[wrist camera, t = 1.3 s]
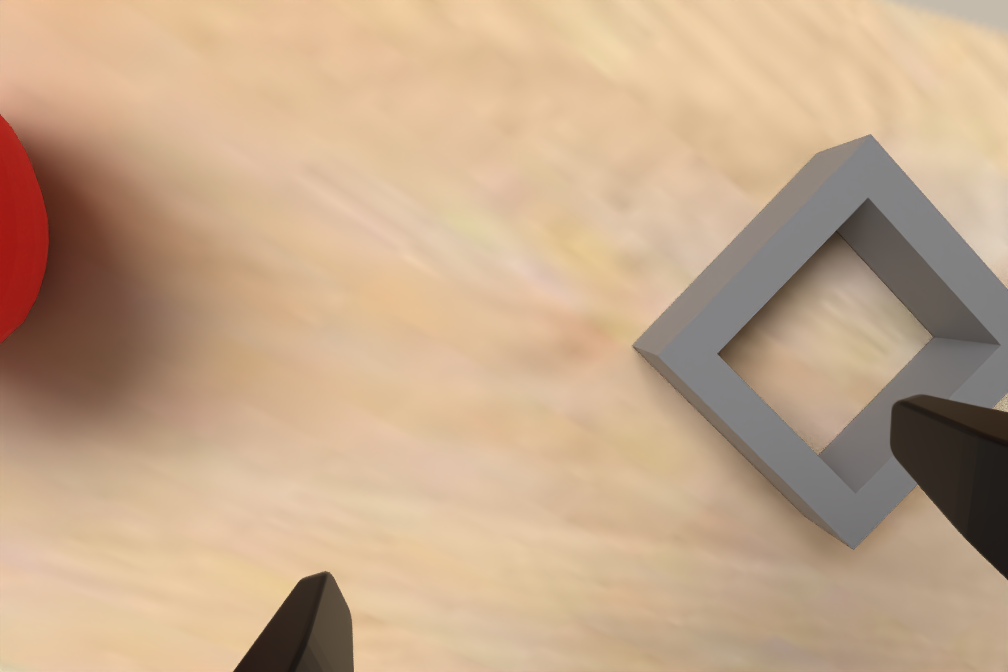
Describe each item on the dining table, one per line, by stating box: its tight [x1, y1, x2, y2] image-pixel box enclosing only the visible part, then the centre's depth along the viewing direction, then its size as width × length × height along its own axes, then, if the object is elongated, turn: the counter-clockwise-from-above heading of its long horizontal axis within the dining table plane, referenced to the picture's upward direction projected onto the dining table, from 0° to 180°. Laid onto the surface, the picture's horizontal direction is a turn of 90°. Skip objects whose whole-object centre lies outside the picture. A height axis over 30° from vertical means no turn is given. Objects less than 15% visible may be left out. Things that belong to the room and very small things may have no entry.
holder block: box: [632, 134, 1008, 550], centre depth 22 cm, size 10×10×3 cm
